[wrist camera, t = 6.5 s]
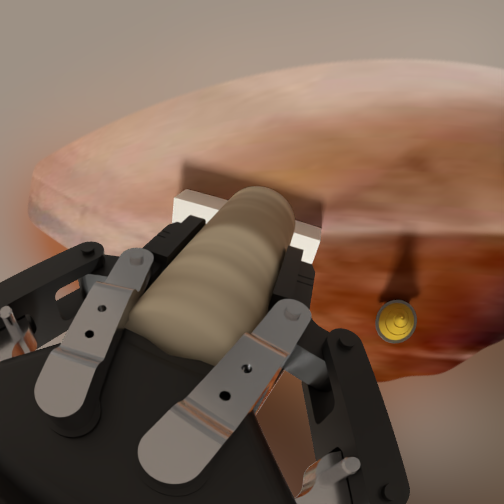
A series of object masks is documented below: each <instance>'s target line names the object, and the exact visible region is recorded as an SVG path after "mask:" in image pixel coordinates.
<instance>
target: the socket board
mask: <svg viewBox="0 0 504 504" xmlns="http://www.w3.org/2000/svg"><path fill="white" fill-rule="evenodd" d="M227 201H228V200H226V199H222V198H218V197H215V196H211V195H207V194H204V193H200V192H196V191H193V190H189V189H185V190H184V191H182V192H181V193H180V194H178V195H177V196H176V197H174V205H173V218H172V223H175V222H180V223H181V222H183V221H184V220H185V219H186V218H187V217H188V216H189V215H193V216H196V217H199V218H203V219H205V220H206V224H207V223H208V221H209V220H210V219H211V218H212V217H213V216H214V215H215V214H216V213H217V212H218V211H219V210H220V209H221V208H222V207H223V206H224V204H225V203H226V202H227ZM321 229H322V228H319V227H316V226H313V225H310V224H307V223H303V222H300V221H297V220H295V230H294V234H293V237H292V240H291V244H290V246H293V247H296V248H299V249H302V250H304V251H303V256H302V260H301V261H304V262H307V263H310V264H312V262H313V259H314V257H315V254H316V251H317V249H318V246H319V243H320V240H321Z"/></svg>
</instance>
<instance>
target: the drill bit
mask: <svg viewBox="0 0 504 504" xmlns="http://www.w3.org/2000/svg"><path fill="white" fill-rule="evenodd" d="M416 323H417V317H416V313H415V311H414V309H413V307H412V306H411V305H410V304H408V303H407V302H405V301H402V300H393V301H389V302H387V303H386V304H384V305H383V306H382V307H381V308H380V310H379V312H378V314H377V316H376V330H377V332H378V334H379V335H380V337H381V338H382V339H384V340H385V341H387V342H390V343H400V342H403V341H405V340H407V339H408V338H409V337H410V336H411V335H412V334H413V332H414V330H415V328H416Z"/></svg>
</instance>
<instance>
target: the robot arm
mask: <svg viewBox="0 0 504 504" xmlns="http://www.w3.org/2000/svg"><path fill="white" fill-rule="evenodd" d="M205 225H206V220H205V219H203V218H199V217H196V216H193V215H189V216H188V217H187V218H186V219H185V220H184V221H183V222H181V223H180V222H175V223H172V224H169V225H168V226H166V227H165V228H164V229H163V230H162V231H161V232H160V233H159V234H157V236H155V237H154V238H153V239H152V240H151V241H150V242H149V243H147V244H146V245H145V246H144V247H143V248H131V249H128V250H126V251H124V252H123V253H122V254H121V256H120V257H119V256H111V255H104V248H103V246H102V245H101V244H99V243H97V242H85V243H81V244H79V245H77V246H75V247H72V248H70V249H68V250H66V251H64V252H62V253H59V254H57V255H55V256H53V257H51V258H49V259H47V260H44V261H42V262H40V263H38V264H36V265H34V266H32V267H30V268H28V269H26V270H24V271H22V272H20V273H18V274H16V275H14V276H12V277H10V278H8V279H7V280H5V281H3V282H1V283H0V504H406V502H407V500H408V498H409V493H410V488H409V483H408V479H407V476H406V472H405V468H404V465H403V461H402V458H401V455H400V451H399V448H398V444H397V441H396V438H395V435H394V431H393V429H392V425H391V422H390V419H389V416H388V413H387V410H386V407H385V405H384V401H383V398H382V395H381V392H380V390H379V387H378V384H377V381H376V378H375V376H374V373H373V370H372V367H371V365H370V362H369V359H368V357H367V354H366V351H365V349H364V346H363V344H362V342H361V340H360V338H359V337H358V336H357V335H356V334H355V333H353V332H351V331H349V330H347V329H341V328H339V329H334V330H332V331H331V332H330V333H329V332H328V331H326V330H324V329H323V328H321V327H320V326H318V325H317V324H316V323H315V322H314V321H313V320H312V318H311V312H310V310H309V309H310V302H311V296H312V290H313V283H314V276H315V271H314V268H313V266H312V264H310V263H307V262H304V261H301V260H302V256H303V251H304V250H302V249H299V248H296V247H293V246H289V245H288V248H287V251H286V254H285V257H284V260H283V263H282V267H281V270H280V273H279V276H278V279H277V282H276V285H275V288H274V291H273V294H272V297H271V300H270V303H269V306H268V314H267V315H266V316H265V317H264V319H263V320H262V321H261V322H260V323H259V325H258V326H257V327H256V328H255V329H254V331H253V332H252V333H249V332H246V333H245V334H244V335H243V336H242V337H241V338H240V339H239V340H238V341H237V342H236V343H235V345H234V346H233V347H232V348H231V349H230V350H229V351H228V352H227V354H226V355H225V356H224V357H223V358H222V359H221V360H220V361H219V363H218V364H217V365H216V366H213V365H210V364H208V363H205V362H202V361H200V360H194V359H188V358H182V357H176V356H171V355H168V354H166V353H165V352H164V351H162V350H161V349H160V348H158V347H157V346H156V345H154V344H153V343H152V342H151V341H149V340H148V339H147V338H145V337H143V336H141V335H139V334H137V333H134V332H132V331H130V330H128V329H126V328H124V327H125V325H126V323H127V322H128V321H129V315H128V314H129V312H130V311H131V309H132V308H133V307H134V305H135V304H136V303H137V301H138V300H139V299H140V298H141V297H142V295H143V294H144V293H145V292H146V291H147V290H148V288H149V287H150V286H151V285H152V284H153V283H154V281H155V280H156V279H157V278H158V277H159V276H160V275H161V273H162V272H163V271H164V270H165V269H166V268H167V267H168V265H169V264H170V263H171V262H172V261H173V260H174V259H175V258H176V256H177V255H178V254H179V253H180V252H181V251H182V250H183V249H184V248H185V246H186V245H187V244H188V243H189V242H190V241H191V240H192V239H193V238H194V237H195V235H196V234H197V233H198V232H199V231H200V230H201V229H202V228H203V227H204V226H205ZM77 279H78V281H79V286H80V288H79V289H77V290H75V291H74V292H72V293H70V294H68V295H66V296H64V297H63V298H61V299H59V300H57V301H56V300H55V294H56V292H57V291H58V290H59V289H60V288H62V287H64V286H66V285H68V284H70V283H71V282H74V281H75V280H77ZM67 330H68V331H67ZM65 331H67V333H66V335H65V337H64V339H63V341H62V343H59V344H56V345H53V346H49V347H46V348H43V349H39V350H36V349H38V348H39V347H41V346H42V345H44V344H46V343H47V342H49V341H51V340H52V339H54V338H55V337H57V336H59V335H60V334H62V333H64V332H65ZM285 370H286V371H287V372H289V373H291V374H292V375H294V376H295V377H297V378H298V379H300V380H302V388H303V393H304V398H305V404H306V409H307V414H308V419H309V425H310V430H311V436H312V441H313V447H314V452H315V458H316V462H315V463H314V464H312V465H311V466H310V467H308V469H307V470H306V471H305V473H304V477H303V487H302V490H301V492H300V494H299V495H298V496H297V497H296V498H294V497H293V495H292V493H291V491H290V489H289V487H288V485H287V483H286V481H285V479H284V477H283V475H282V472H281V470H280V468H279V466H278V464H277V462H276V460H275V458H274V456H273V453H272V451H271V449H270V447H269V445H268V443H267V440H266V438H265V436H264V434H263V432H262V429H261V427H260V425H259V423H258V420H257V418H256V416H255V415H256V414H257V412H258V411H259V409H260V408H261V406H262V404H263V403H264V401H265V400H266V398H267V396H268V395H269V394H270V392H271V390H272V389H273V387H274V386H275V384H276V383H277V381H278V380H279V378H280V377H281V375H282V374H283V372H284V371H285Z"/></svg>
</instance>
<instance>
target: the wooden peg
mask: <svg viewBox="0 0 504 504" xmlns="http://www.w3.org/2000/svg"><path fill="white" fill-rule="evenodd" d="M294 230H295V215H294V212H293V209H292V207H291V205H290V204H289V203H288V201H287V200H286V199H285V198H284V197H283V196H282V195H281V194H279V193H278V192H276V191H274V190H272V189H270V188H267V187H262V186H252V187H247V188H244V189H242V190H240V191H238V192H237V193H235V194H234V195H233V196H232V197H231V198H230V199H229V200H228V201H227V202H226V203H225V204H224V206H223V207H222V208H221V209H220V210H219V211H218V212H217V213H216V214H215V215H214V216H213V217H212V218H211V219H210V220H209V221H208V223H207V224H206V225H205V226H204V227H203V228H202V229H201V230H200V231H199V232H198V233H197V234H196V235H195V237H194V238H193V239H192V240H191V241H190V242H189V243H188V244H187V245H186V246H185V248H184V249H183V250H182V251H181V252H180V253H179V254H178V255H177V256H176V258H175V259H174V260H173V261H172V262H171V263H170V264H169V265H168V267H167V268H166V269H165V270H164V271H163V272H162V273H161V275H160V276H159V277H158V278H157V279H156V280H155V281H154V283H153V284H152V285H151V286H150V287H149V288H148V290H147V291H146V292H145V293H144V294H143V295H142V297H141V298H140V299H139V300H138V301H137V303H136V304H135V305H134V307H133V308H132V309H131V311H130V312H129V314H128V315H129V321H128V322H127V323H126V325H125V327H124V328H126V329H128V330H130V331H132V332H134V333H137V334H139V335H141V336H143V337H145V338H147V339H148V340H149V341H151V342H152V343H153V344H154V345H156V346H157V347H158V348H160V349H161V350H162V351H164V352H165V353H166V354H168V355H171V356H176V357H182V358H188V359H194V360H200V361H202V362H205V363H208V364H210V365H213V366H216V365H217V364H218V363H219V361H220V360H221V359H222V358H223V357H224V356H225V355H226V354H227V352H228V351H229V350H230V349H231V348H232V347H233V346H234V345H235V343H236V342H237V341H238V340H239V339H240V338H241V337H242V336H243V335H244V334H245V333H246V332H249V333H252V332H253V331H254V329H255V328H256V327H257V326H258V325H259V323H260V322H261V321H262V320H263V319H264V317H265V316H266V315H267V314H268V306H269V303H270V300H271V297H272V294H273V291H274V288H275V285H276V282H277V279H278V276H279V273H280V270H281V267H282V263H283V260H284V257H285V254H286V251H287V248H288V245H289V246H290V244H291V240H292V237H293V234H294Z"/></svg>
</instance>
